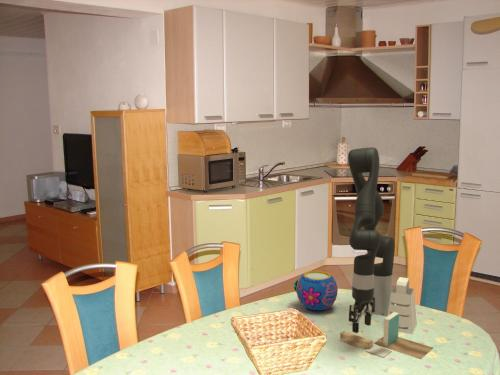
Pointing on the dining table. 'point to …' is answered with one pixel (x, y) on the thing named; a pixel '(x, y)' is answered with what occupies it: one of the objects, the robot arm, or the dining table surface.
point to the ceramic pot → (316, 290)
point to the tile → (391, 328)
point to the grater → (403, 305)
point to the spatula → (364, 344)
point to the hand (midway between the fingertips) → (361, 328)
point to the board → (407, 347)
